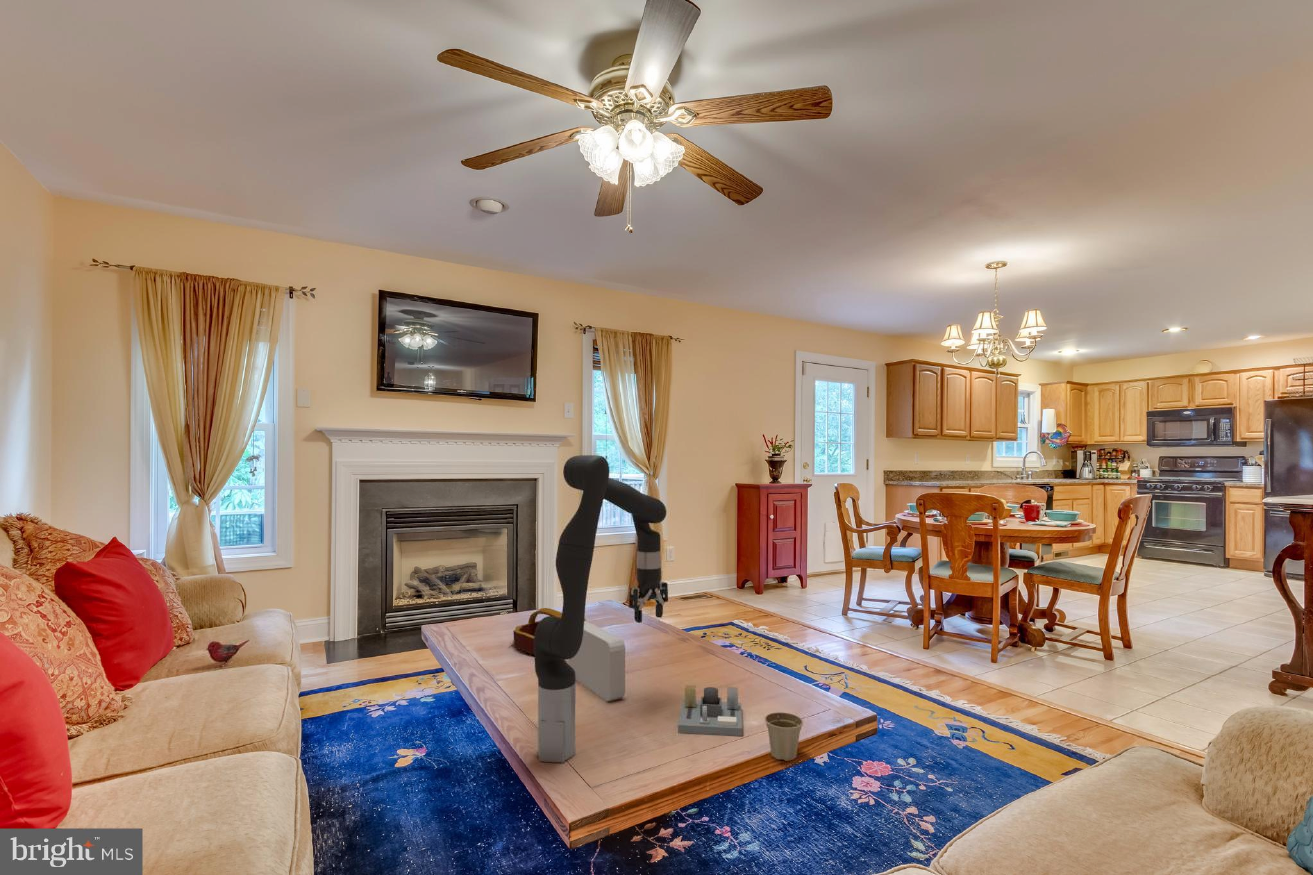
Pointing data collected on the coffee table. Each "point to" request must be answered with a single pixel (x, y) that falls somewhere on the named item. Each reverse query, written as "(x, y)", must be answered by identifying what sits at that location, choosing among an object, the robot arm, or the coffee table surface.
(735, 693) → the light grey block
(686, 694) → the gold rectangular block
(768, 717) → the flower pot
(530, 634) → the decorative basket
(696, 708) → the control board
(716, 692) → the black button
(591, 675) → the rounded white slab
